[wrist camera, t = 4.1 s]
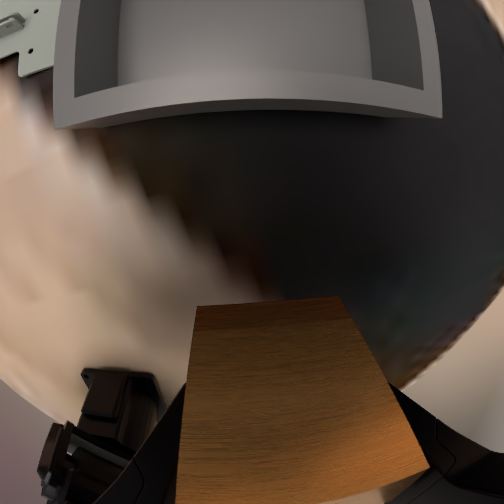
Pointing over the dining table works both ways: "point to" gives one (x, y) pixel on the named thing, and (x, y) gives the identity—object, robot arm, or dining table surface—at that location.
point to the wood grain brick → (290, 410)
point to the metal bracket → (29, 33)
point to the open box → (242, 58)
